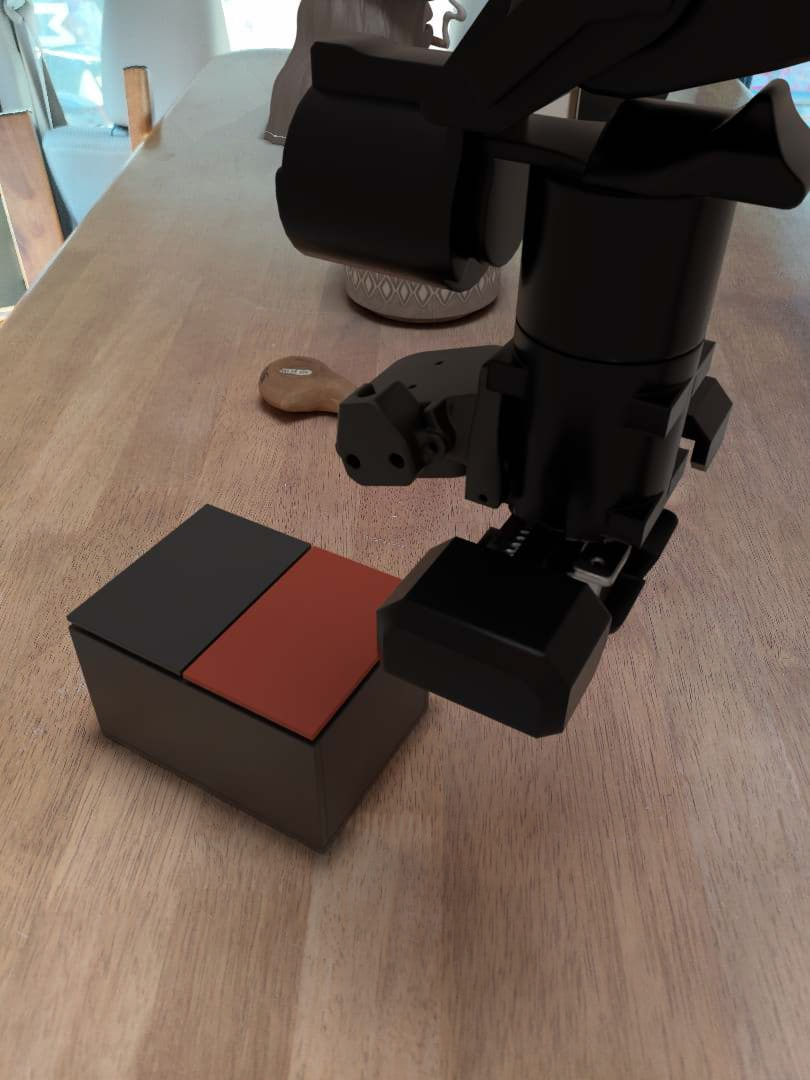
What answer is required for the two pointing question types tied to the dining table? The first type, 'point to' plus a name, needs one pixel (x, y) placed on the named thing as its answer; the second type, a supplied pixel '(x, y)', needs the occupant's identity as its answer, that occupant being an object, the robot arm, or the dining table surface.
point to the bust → (337, 7)
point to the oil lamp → (303, 385)
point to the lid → (300, 643)
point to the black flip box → (209, 719)
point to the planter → (418, 296)
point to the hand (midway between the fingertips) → (552, 670)
